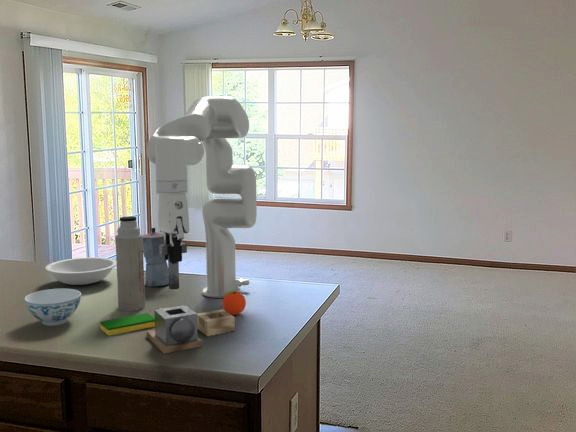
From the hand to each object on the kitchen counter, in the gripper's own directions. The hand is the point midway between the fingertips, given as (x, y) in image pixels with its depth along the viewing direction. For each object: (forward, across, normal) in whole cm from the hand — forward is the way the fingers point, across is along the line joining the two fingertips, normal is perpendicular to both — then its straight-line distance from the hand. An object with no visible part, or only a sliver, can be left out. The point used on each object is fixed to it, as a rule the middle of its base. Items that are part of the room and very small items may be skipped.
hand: (173, 259), depth 154 cm
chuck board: (+22, +3, -1) cm, 22 cm away
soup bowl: (+21, +75, +7) cm, 78 cm away
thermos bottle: (+22, +38, 0) cm, 44 cm away
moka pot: (+21, +60, -16) cm, 65 cm away
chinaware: (+22, +35, +23) cm, 47 cm away
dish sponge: (+23, +20, +6) cm, 31 cm away
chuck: (+21, +5, -1) cm, 21 cm away
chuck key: (+7, 0, 0) cm, 7 cm away
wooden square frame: (+22, +6, -14) cm, 26 cm away
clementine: (+22, +16, -24) cm, 36 cm away
